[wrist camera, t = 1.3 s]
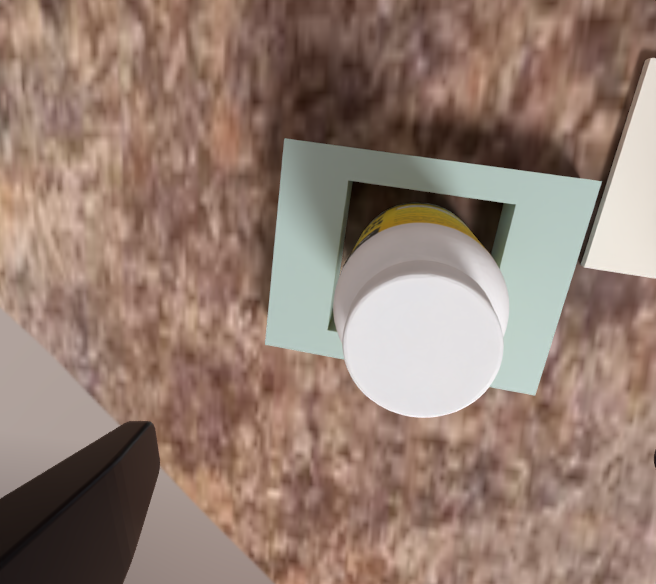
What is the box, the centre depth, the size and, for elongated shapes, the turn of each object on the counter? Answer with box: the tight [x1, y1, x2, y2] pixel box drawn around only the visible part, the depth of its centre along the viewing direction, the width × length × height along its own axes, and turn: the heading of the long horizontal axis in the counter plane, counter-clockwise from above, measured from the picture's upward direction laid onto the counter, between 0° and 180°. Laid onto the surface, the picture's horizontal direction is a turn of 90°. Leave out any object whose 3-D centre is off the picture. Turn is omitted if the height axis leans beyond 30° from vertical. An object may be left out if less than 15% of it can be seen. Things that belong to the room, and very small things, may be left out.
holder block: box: [265, 138, 602, 395], centre depth 19 cm, size 12×9×2 cm
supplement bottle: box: [333, 202, 509, 418], centre depth 16 cm, size 5×5×10 cm
